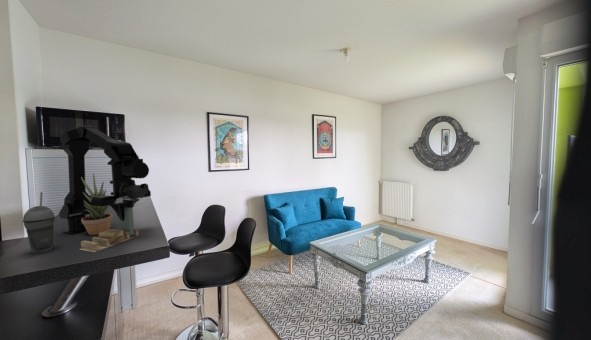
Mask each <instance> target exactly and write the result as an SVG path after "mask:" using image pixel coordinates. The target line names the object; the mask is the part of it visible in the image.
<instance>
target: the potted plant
mask: <svg viewBox="0 0 591 340" xmlns="http://www.w3.org/2000/svg"><path fill="white" fill-rule="evenodd" d="M81 179H82V181H83V183H84V185H85V187H86V191H87V193H88V194H89V195H91V198H90V197H88V196H87V195H86V194H85V193H84V192H83V193H84V195H85V196H86V198H87V199H88V200H89V201H90V202H91V199H92V198H93V197H96V196H101V195H107V194H106V193H107V189H105V190H104V181H102V183H101V185H100V189H99V192H98V187H97V185H96V178H95V174H94V172H92V180H93V190H94V191H92V189H91V188H90V186H89V185H88V184H87V182H86V180H85V181H84V180H83V178H82V177H81ZM84 203H85V204H86V205H87V206H86V205H85V204H84V205H85V206H86V207H87V208H88V209H89V210H91V211H89V210H87V209H86V210H87V211H88V212H89V213H91V214H88V216H87V215H86V217H85V218H82V219H81V221H82V224H84V226H85V228H86V230H85V231H86V232H87V234H88V235H90V236H95V235H99V233H101V232H103V231H106V230H109V229H111V222H112V220H113V219H114V218H113V213H109V212H108V211H107V210H108V209H109V208H110V207H111V206H110V205H108V206H92V205H90V204H88V203H87V202H85V201H84ZM106 211H107V212H106Z"/></svg>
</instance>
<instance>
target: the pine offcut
mask: <svg viewBox="0 0 591 340" xmlns="http://www.w3.org/2000/svg"><path fill="white" fill-rule="evenodd" d="M122 235H124V234H123V230H118V228H117V229H116V228H113V229H112V228H109V230H106V231H103V232H101V233H99V234H98V237H99V238H106V239H114V238H117V237H119V236H122Z"/></svg>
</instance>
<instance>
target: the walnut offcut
mask: <svg viewBox="0 0 591 340" xmlns="http://www.w3.org/2000/svg"><path fill="white" fill-rule="evenodd" d="M124 240H125V235H122V236H119V237H117V238H114V239H109V241H110V245H112V246H114V245H113V244H115V245H117V244H119V243H118V242H120V243H122V242H121V241H123V242H125V241H126V240H125V241H124ZM116 243H117V244H116Z"/></svg>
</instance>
